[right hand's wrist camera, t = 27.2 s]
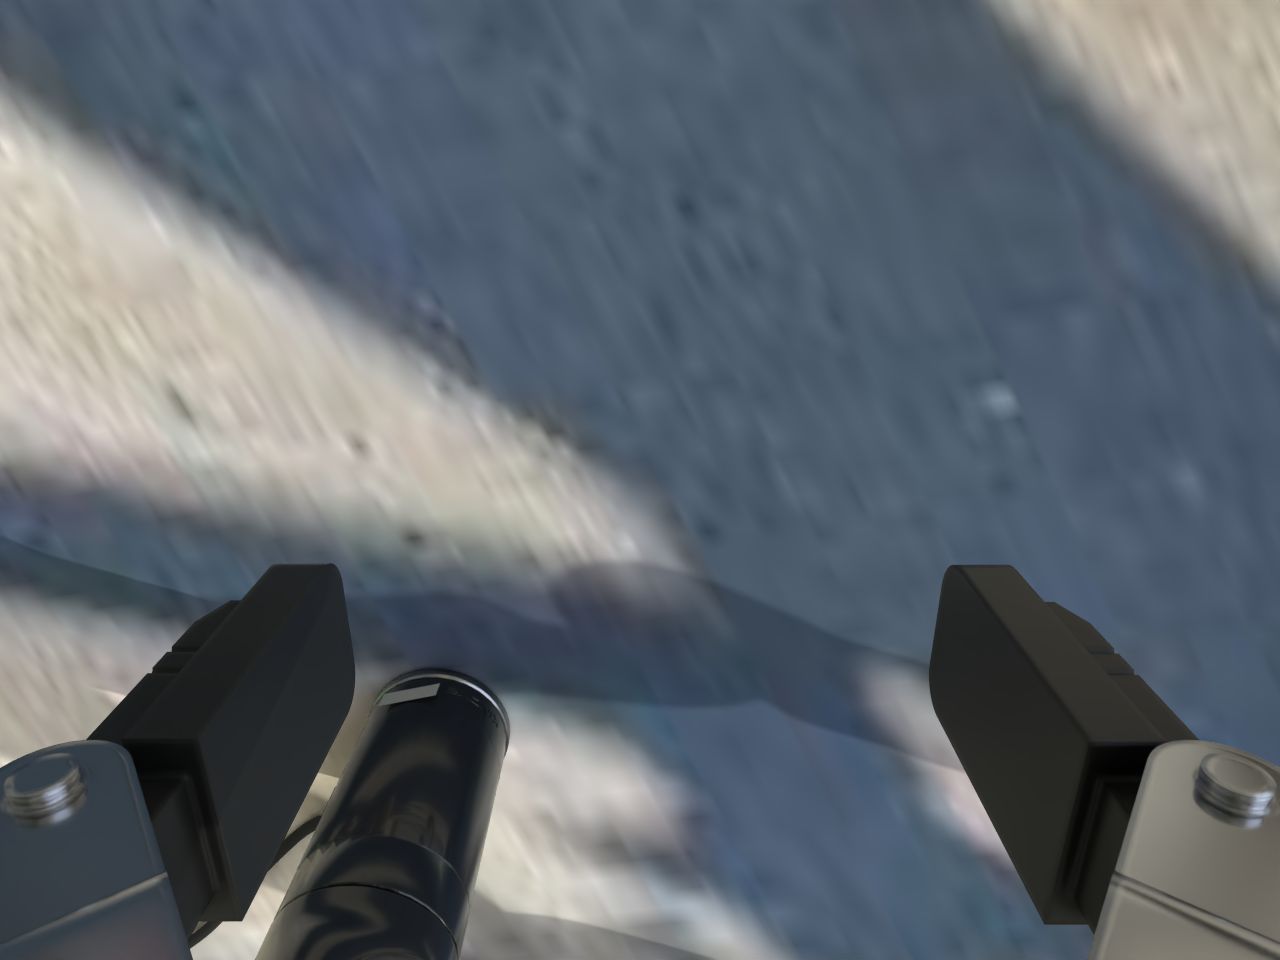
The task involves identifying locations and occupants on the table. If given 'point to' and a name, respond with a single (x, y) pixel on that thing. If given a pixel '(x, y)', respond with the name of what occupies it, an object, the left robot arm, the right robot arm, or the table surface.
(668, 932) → the table surface
